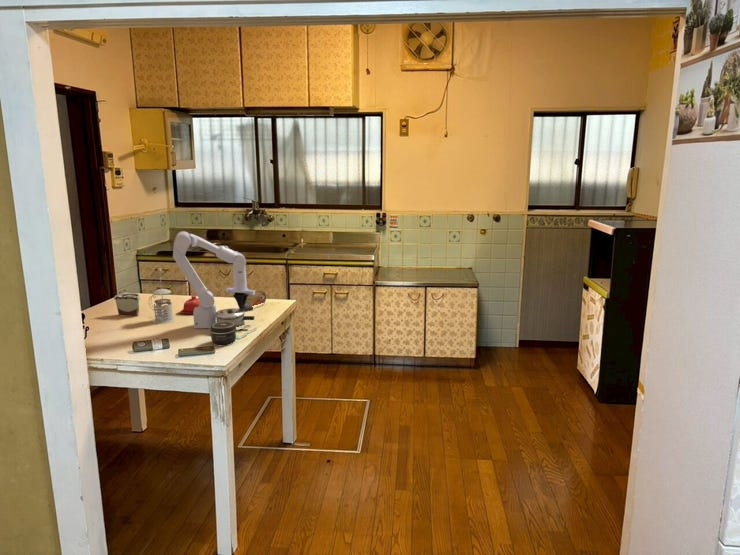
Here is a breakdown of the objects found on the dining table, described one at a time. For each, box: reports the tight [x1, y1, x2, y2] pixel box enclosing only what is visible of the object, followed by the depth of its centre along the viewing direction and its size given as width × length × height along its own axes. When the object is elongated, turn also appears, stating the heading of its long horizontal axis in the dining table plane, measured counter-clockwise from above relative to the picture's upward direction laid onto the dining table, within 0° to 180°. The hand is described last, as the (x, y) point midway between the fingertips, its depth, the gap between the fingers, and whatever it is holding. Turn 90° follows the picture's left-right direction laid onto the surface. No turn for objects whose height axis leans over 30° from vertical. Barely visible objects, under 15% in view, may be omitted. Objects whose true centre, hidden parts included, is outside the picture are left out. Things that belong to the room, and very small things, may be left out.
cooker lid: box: [215, 306, 254, 319], centre depth 229 cm, size 17×13×2 cm
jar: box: [210, 321, 237, 347], centre depth 211 cm, size 10×10×8 cm
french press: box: [148, 268, 176, 325], centre depth 237 cm, size 10×12×25 cm
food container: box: [113, 292, 141, 317], centre depth 248 cm, size 12×6×10 cm, turn 84°
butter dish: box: [179, 295, 200, 315], centre depth 253 cm, size 12×12×8 cm
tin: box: [244, 290, 267, 307], centre depth 261 cm, size 15×3×8 cm, turn 143°
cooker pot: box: [216, 314, 255, 327], centre depth 229 cm, size 16×12×6 cm
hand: (241, 308), depth 236 cm, fingers closed
